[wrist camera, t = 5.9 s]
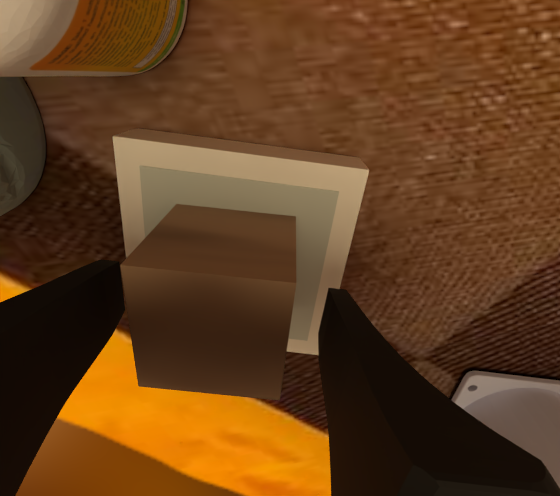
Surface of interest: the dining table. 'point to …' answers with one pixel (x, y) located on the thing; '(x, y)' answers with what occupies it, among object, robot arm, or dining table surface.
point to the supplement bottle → (87, 36)
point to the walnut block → (212, 301)
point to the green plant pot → (19, 143)
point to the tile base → (249, 202)
